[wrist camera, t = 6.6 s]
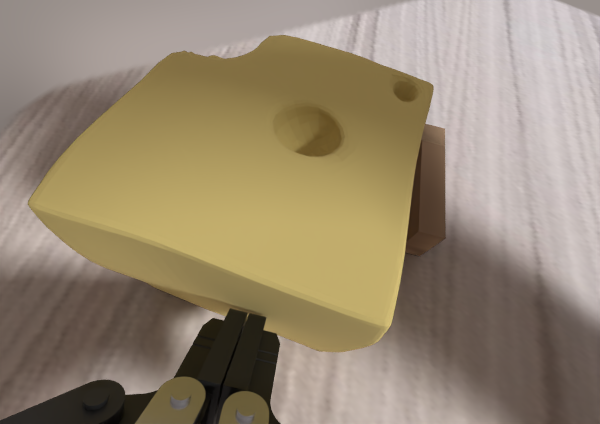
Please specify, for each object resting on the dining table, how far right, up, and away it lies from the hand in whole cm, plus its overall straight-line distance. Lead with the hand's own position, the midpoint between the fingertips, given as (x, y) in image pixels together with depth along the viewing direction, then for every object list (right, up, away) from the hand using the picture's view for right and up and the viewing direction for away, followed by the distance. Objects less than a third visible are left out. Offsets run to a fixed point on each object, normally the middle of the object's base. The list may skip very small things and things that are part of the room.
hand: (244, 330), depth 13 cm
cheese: (0, +3, +6) cm, 7 cm away
